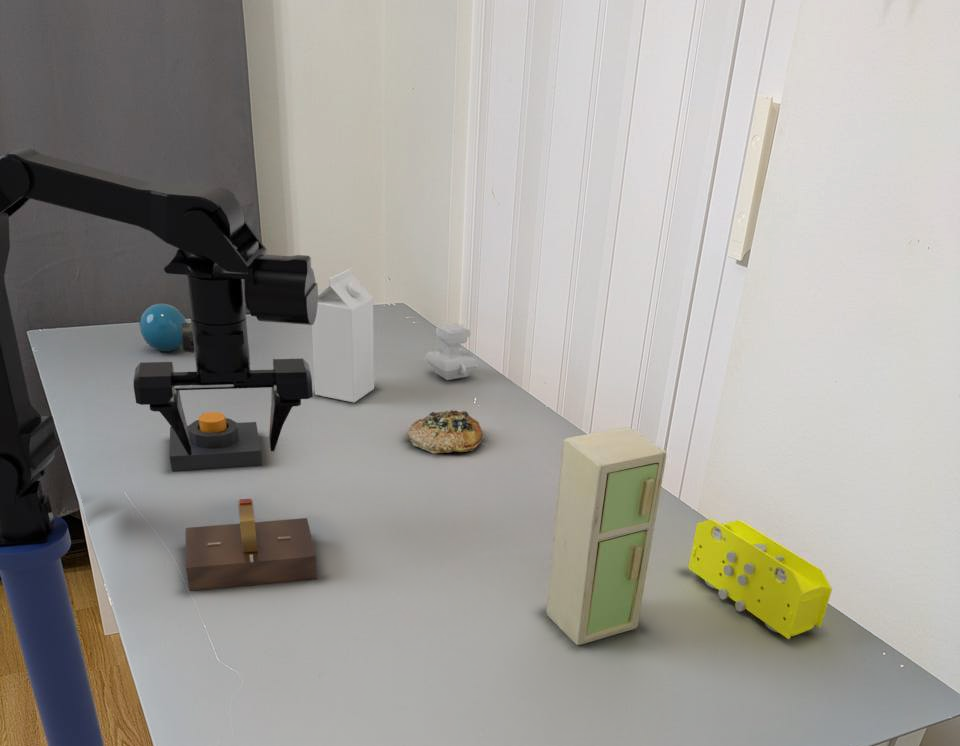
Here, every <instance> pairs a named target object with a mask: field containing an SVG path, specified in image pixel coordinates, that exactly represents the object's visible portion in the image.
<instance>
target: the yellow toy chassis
mask: <svg viewBox="0 0 960 746" xmlns="http://www.w3.org/2000/svg"><path fill="white" fill-rule="evenodd" d="M687 568H688V569H689V570H690V571H692V572H693V573H694V574H696V575H697V576H698V577H700V578H701V579H703V580H704V582H705V584H706V585H707V586H708V587H710V588H711V589H714V590H718V597H719V598H720V599H721V600H727V599H728V598H730V599H731V600H732V601H733V602H735V603H734V607H735V609H736V611H737V612H740V613H741V612H743V611H745V610H746V611H748V612H749V613H751V614H752V615H754V616H755V617H756V618H758V619H759V620H760V621H762V622H763V623H764V625H765V626H766V628H767V629H769V630H770V631H772V632H775V633H777V634H780V635H781V636H783V637H785V638H786V639H787V640H791V637H794V636H797V635H800V634H802V633H806V632H808V631H810V630H812V629H814V627H815V626H816V627H818V628H821V627H822V624H823V621H824V618H825V614H826V610H827V607H828V604H829V601H830V598H831V594H832V591H833V587H832V586H831V584H830V583H829V580H828V579H827V576H826V575H825V574H824V571H823V569H821V568H819V567H817V566H816V565H814V564H813V563H812V562H809V561H808V560H806V559H804V558H803V557H802V556H800V555H798V554H796V553H795V552H793V551H791V550H790V549H788V548H786V547H785V546H783V545H782V544H781V543H778V542H777V541H775V540H774V539H773V538H771V537H769V536H767V535H766V534H764V533H762V532H761V531H760V530H758V529H756V528H754V527H753V526H751V525H749V524H748V523H747V522H744V521H743V520H742V519H738V520H734V521H729V522H725V523H719V522H718V521H717V520H715V519H714V518H710V519H706V520H703V521H701V522H697V523H696V527H695V533H694V538H693V542H692V548H691V552H690V558H689V563H688V567H687Z"/></svg>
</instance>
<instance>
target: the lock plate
mask: <svg viewBox="0 0 960 746" xmlns="http://www.w3.org/2000/svg"><path fill="white" fill-rule="evenodd" d="M255 528H256V538H257V549H258V551H257V552H245V553H244V552H243V547H242V537H241V528H240V522H238V523H229V524H228V523H227V524H215V525H204V526H191V527H190V526H189V527H185V528H184V529H185V571H186V578H187V584H188V588H189V589H188V591H189V592H192V591H201V590H203V591H204V590H214V589H223V588H234V587H243V586H244V587H245V586H253V585H254V586H255V585H264V584H275V583H283V582H284V583H287V582H293V581H294V582H296V581H305V580H306V581H307V580H317V579H318V569H317V567H318V566H317V555H316V551H315V550H316V549H315V546H314V542H313V538H312V534H311V533H312V532H311V529H310V525H309V520H308V517H304V518H303V517H302V518H301V517H300V518H290V519H277V520H267V521H266V520H265V521H264V520H263V521H255Z"/></svg>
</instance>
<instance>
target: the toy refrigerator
mask: <svg viewBox="0 0 960 746" xmlns="http://www.w3.org/2000/svg"><path fill="white" fill-rule="evenodd" d="M666 461H667V451H666V450H665V449H663V448H662V447H661V446H660V445H658V444H656V443H654V442H653V441H652V440H650V439H648V438H647V437H645V436H644V435H642V434H641V433H639V432H638V431H637V430H635V429H633V428H631V427H629V426H625V427H617V428H611V429H607V430H602V431H597V432H592V433H591V432H590V433H587V434H581V435H576V436H571V437H566V438H565V439H564V440H563V442H562V450H561V459H560V470H559V478H558V479H559V480H558V490H557V500H556V513H555V522H554V523H555V524H554V530H553V531H554V532H553V539H552V541H553V542H552V550H551V551H552V552H551V560H550V561H551V562H550V570H549V571H550V572H549V579H548V591H547V592H548V593H547V602H546V615H547V617H548V618H549V619H550V620H551V621H552V622H553V623H554V624H555V625H556V626H557V627H558V628H559V629H560V630H561V631H562V632H563V633H564V634H565V635H566V636H567V637H568V638H569V639H570V640H571V641H572V642H573V643H574V644H575V645H576V646H581V645H585V644H589V643H592V642H596V641H599V640H602V639H605V638H608V637H611V636H615V635H619V634H622V633H625V632H628V631H632V630H636V629H637V627H638V626H639V620H640V615H641V610H642V603H643V598H644V597H643V596H644V591H645V585H646V579H647V572H648V567H649V561H650V554H651V549H652V543H653V538H654V532H655V525H656V520H657V515H658V510H659V503H660V497H661V490H662V484H663V478H664V474H665V469H666Z"/></svg>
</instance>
